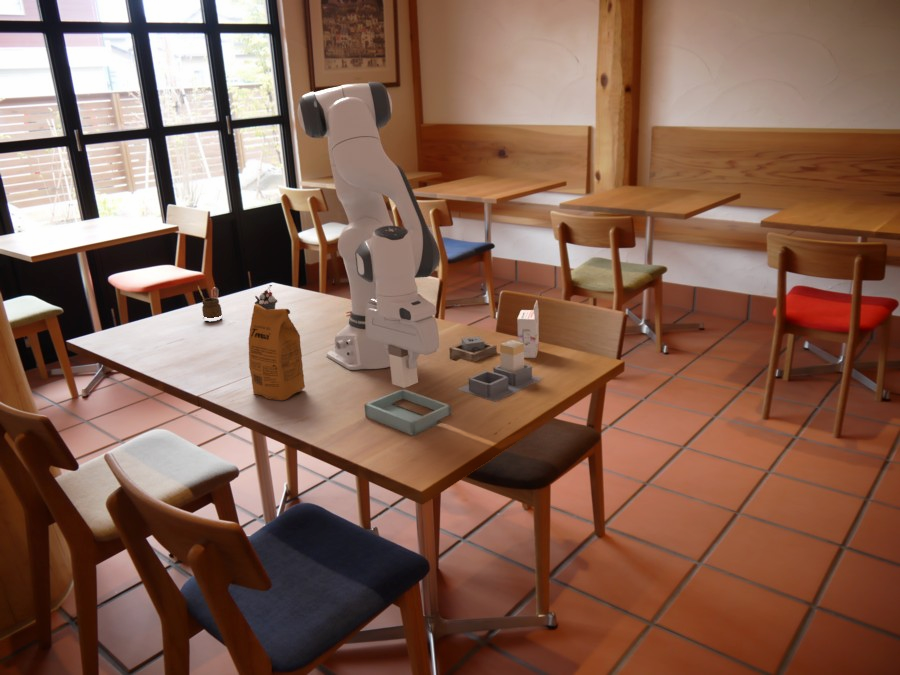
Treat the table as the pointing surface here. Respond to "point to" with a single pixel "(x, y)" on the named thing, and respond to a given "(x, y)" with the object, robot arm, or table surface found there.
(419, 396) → the tray
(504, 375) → the block
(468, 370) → the table surface
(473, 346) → the dice cube
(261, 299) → the sundae
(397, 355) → the block
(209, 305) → the utensil holder
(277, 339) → the coffee package
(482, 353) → the dice corral
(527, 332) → the ink cartridge box
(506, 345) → the block
